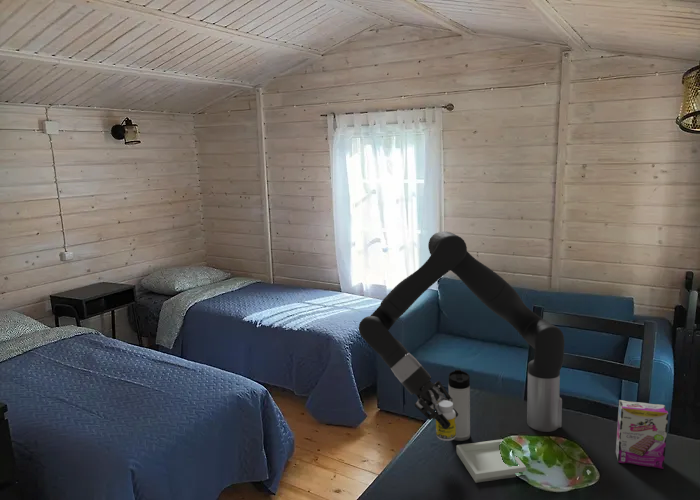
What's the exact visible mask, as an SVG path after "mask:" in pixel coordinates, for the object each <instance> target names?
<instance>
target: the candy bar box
mask: <svg viewBox="0 0 700 500" xmlns="http://www.w3.org/2000/svg"><path fill="white" fill-rule="evenodd" d="M668 421H669V412H668V410H667V408H666V405H665V404H659V403H649V402H638V401H631V400H622V399H619V400H618V412H617V429H616V444H615V455H616V458H617V462H618V463H621V464H627V465H633V466H642V467H647V468H656V469H663V470H664V467H665V457H666V445H667V433H668Z"/></svg>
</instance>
